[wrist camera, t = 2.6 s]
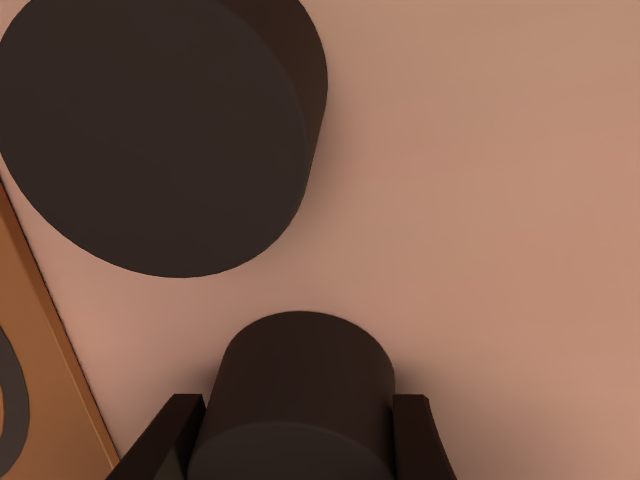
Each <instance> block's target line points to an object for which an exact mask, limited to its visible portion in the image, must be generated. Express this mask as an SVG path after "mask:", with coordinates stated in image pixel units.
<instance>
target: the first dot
mask: <svg viewBox="0 0 640 480" xmlns="http://www.w3.org/2000/svg"><path fill="white" fill-rule="evenodd" d="M392 394H395V379H394V371H393V368H392V365H391V362H390V360H389V358H388V356H387V354H386V353H385V352H384V350H383V349H382V347H381V346H380V345H379V344H378V343H377V342H376V341H375V340H374V339H373V338H372V337H371V336H370V335H369V334H367V333H366V332H365V331H363V330H362V329H360V328H358V327H357V326H355V325H353V324H351V323H349V322H347V321H345V320H342V319H339V318H336V317H333V316H329V315H325V314H319V313H312V312H288V313H281V314H276V315H272V316H269V317H265V318H263V319H260V320H258V321H256V322H254V323H252V324H251V325H249V326H247V327H246V328H244V329H243V330H242V331H241V332H240V333H238V334H237V335H236V336H235V337H234V339H233V340H232V341H231V342H230V344H229V345H228V347H227V349H226V351H225V354H224V356H223V359H222V362H221V365H220V368H219V371H218V375H217V378H216V381H215V384H214V387H213V390H212V393H211V396H210V399H209V402H208V405H207V408H206V411H205V414H204V417H203V420H202V424H201V427H200V430H199V433H198V436H197V439H196V442H195V445H194V448H193V451H192V454H191V457H190V460H189V463H188V468H187V480H397V474H396V465H395V456H394V429H393V397H392Z"/></svg>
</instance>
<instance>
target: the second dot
mask: <svg viewBox="0 0 640 480" xmlns="http://www.w3.org/2000/svg"><path fill="white" fill-rule="evenodd" d="M327 90H328V81H327V67H326V60H325V55H324V51H323V47H322V44H321V40H320V38H319V36H318V33H317V31H316V28H315V26H314V24H313V22H312V20H311V19H310V17H309V15H308V13H307V12H306V10H305V8H304V7H303V6H302V4H301V3H300V2H299V0H31V1H30V2H28V3H27V4H26V5H25V6H24V7H23V8H22V10H21V11H20V12H19V13H18V14H17V15H16V17H15V18H14V19H13V20H12V22H11V23H10V25H9V27H8V28H7V30H6V32H5V33H4V35H3V37H2V39H1V42H0V152H1V155H2V157H3V159H4V161H5V164H6V166H7V168H8V170H9V172H10V174H11V176H12V177H13V179H14V180H15V182H16V184H17V185H18V187H19V188H20V190H21V192H22V193H23V194H24V195H25V197H26V198H27V199H28V201H29V202H30V203H31V204H32V206H33V207H34V208H35V209H36V210H37V211H38V212H39V213H40V215H41V216H42V217H43V218H44V219H45V220H46V221H47V222H48V223H49V224H50V225H52V226H53V227H54V228H55V229H56V230H57V231H59V232H60V233H61V234H62V235H63V236H65V237H66V238H67V239H69V240H70V241H72V242H73V243H74V244H76V245H77V246H79V247H80V248H82V249H84V250H85V251H87V252H89V253H91V254H92V255H94V256H96V257H98V258H100V259H102V260H104V261H107V262H109V263H111V264H113V265H116V266H119V267H122V268H125V269H127V270H130V271H134V272H138V273H142V274H146V275H152V276H160V277H169V278H190V277H202V276H207V275H212V274H217V273H220V272H223V271H226V270H229V269H232V268H235V267H237V266H239V265H241V264H243V263H245V262H247V261H249V260H251V259H253V258H254V257H256V256H257V255H259V254H260V253H262V252H263V251H265V250H266V249H267V248H268V247H269V246H270V245H271V244H273V243H274V242H275V241H276V240H277V239H278V238H279V237H280V235H281V234H282V233H283V232H284V231H285V229H286V228H287V227H288V226H289V224H290V222H291V221H292V219H293V217H294V216H295V214H296V213H297V211H298V208H299V206H300V204H301V201H302V199H303V196H304V193H305V189H306V186H307V182H308V178H309V174H310V169H311V165H312V161H313V156H314V152H315V148H316V144H317V139H318V135H319V131H320V127H321V122H322V118H323V114H324V110H325V105H326V98H327Z"/></svg>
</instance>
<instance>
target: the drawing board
mask: <svg viewBox="0 0 640 480" xmlns="http://www.w3.org/2000/svg"><path fill="white" fill-rule="evenodd" d="M119 462H120V461H119V458H118V456H117V453H116V451H115V449H114V446H113V444H112V442H111V439H110V437H109V435H108V432H107V430H106V428H105V425H104V423H103V421H102V418H101V416H100V414H99V411H98V409H97V407H96V404H95V402H94V400H93V397H92V395H91V393H90V390H89V388H88V386H87V383H86V381H85V379H84V376H83V374H82V371H81V369H80V367H79V364H78V362H77V360H76V357H75V355H74V353H73V350H72V348H71V346H70V343H69V341H68V339H67V336H66V334H65V332H64V329H63V327H62V325H61V322H60V320H59V318H58V315H57V313H56V311H55V308H54V306H53V304H52V301H51V299H50V296H49V294H48V292H47V289H46V287H45V285H44V282H43V280H42V278H41V275H40V273H39V271H38V268H37V266H36V264H35V261H34V259H33V257H32V254H31V252H30V250H29V247H28V245H27V243H26V240H25V238H24V236H23V233H22V231H21V229H20V226H19V224H18V222H17V219H16V217H15V214H14V212H13V210H12V207H11V205H10V203H9V200H8V198H7V196H6V193H5V191H4V189H3V186H2V184H1V182H0V480H105V479H106V477H107V476H108V475H109V474H110V473H111V471H112V470H113V469H114V468H115V467H116V465H117V464H118V463H119Z"/></svg>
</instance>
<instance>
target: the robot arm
mask: <svg viewBox="0 0 640 480" xmlns="http://www.w3.org/2000/svg"><path fill="white" fill-rule="evenodd" d="M392 397H393V429H394V456H395V465H396V474H397V480H457V478H456V476H455V474H454V472H453V470H452V467H451V465H450V462H449V460H448V458H447V455H446V453H445V450H444V448H443V445H442V442H441V440H440V437H439V434H438V431H437V429H436V426H435V422H434V419H433V416H432V412H431V409H430V404H429V399H428V398H427V397H426V396H424V395H414V394H392ZM205 411H206V407H205V404H204V400H203V396H202V394H174V395H173V396H172V397H171V398H170V399H169V400H168V401H167V403H166V404H165V405H164V406H163V408H162V409H161V410H160V412H159V413H158V414H157V415H156V417H155V418H154V419H153V421H152V422H151V423H150V424H149V426H148V427H147V428H146V430H145V431H144V432H143V433H142V435H141V436H140V437H139V438H138V440H137V441H136V442H135V443H134V445H133V446H132V447H131V448H130V450H129V451H128V452H127V453H126V455H125V456H124V457H123V458H122V459H121V461H120V462H119V463H118V464H117V465H116V467H115V468H114V469H113V470H112V471H111V473H110V474H109V475H108V476H107V477H106V479H105V480H187V468H188V463H189V460H190V457H191V454H192V451H193V448H194V445H195V442H196V439H197V436H198V433H199V430H200V427H201V424H202V420H203V417H204V414H205Z"/></svg>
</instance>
